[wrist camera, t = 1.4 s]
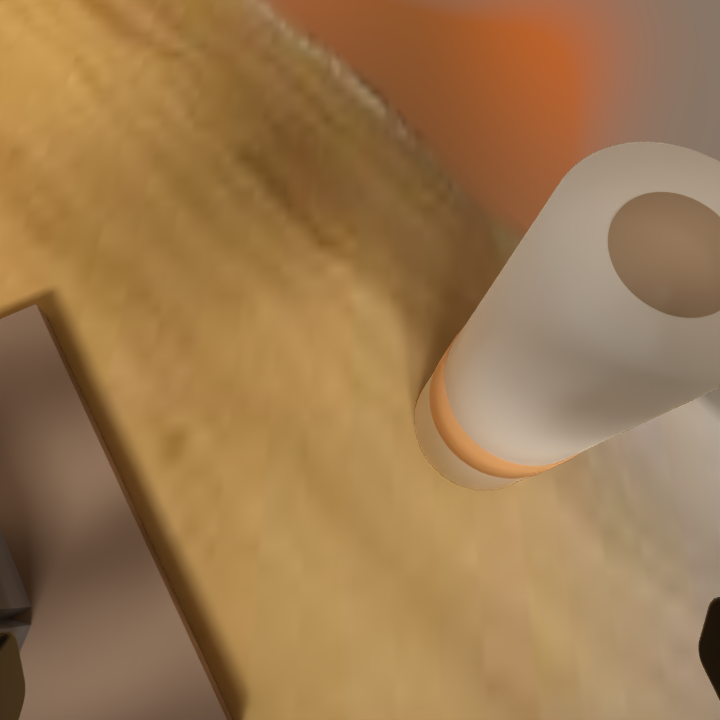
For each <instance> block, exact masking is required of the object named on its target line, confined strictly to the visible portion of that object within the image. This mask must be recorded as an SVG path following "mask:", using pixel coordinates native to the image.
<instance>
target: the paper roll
mask: <svg viewBox="0 0 720 720" xmlns="http://www.w3.org/2000/svg"><path fill="white" fill-rule="evenodd" d="M719 387H720V162H719V161H718V160H715V159H713V158H711V157H709V156H707V155H705V154H703V153H700V152H697V151H694V150H691V149H689V148H685V147H681V146H677V145H673V144H667V143H659V142H631V143H623V144H619V145H614V146H610V147H607V148H605V149H602V150H599V151H597V152H595V153H593V154H591V155H589V156H588V157H586V158H584V159H583V160H581V161H580V162H579V163H578V164H576V165H575V166H574V167H573V168H572V169H571V170H570V171H569V172H568V173H567V174H566V175H565V176H564V177H563V179H562V180H561V182H560V183H559V185H558V186H557V187H556V189H555V190H554V192H553V193H552V195H551V197H550V198H549V200H548V201H547V203H546V204H545V206H544V207H543V209H542V210H541V212H540V213H539V215H538V216H537V218H536V219H535V221H534V222H533V224H532V225H531V227H530V228H529V230H528V231H527V233H526V234H525V236H524V237H523V239H522V240H521V242H520V243H519V245H518V246H517V248H516V249H515V251H514V252H513V254H512V255H511V257H510V258H509V260H508V261H507V263H506V264H505V266H504V267H503V269H502V270H501V272H500V273H499V275H498V276H497V278H496V279H495V281H494V282H493V284H492V285H491V287H490V288H489V290H488V291H487V293H486V294H485V296H484V297H483V299H482V300H481V302H480V303H479V305H478V306H477V308H476V309H475V311H474V313H473V314H472V316H471V317H470V319H469V320H468V322H467V323H466V325H465V326H464V327H463V328H462V329H461V330H460V331H459V333H458V334H457V335H456V337H455V338H454V340H453V341H452V343H451V344H450V346H449V347H448V349H447V350H446V352H445V353H444V355H443V356H442V358H441V359H440V361H439V363H438V364H437V367H436V369H435V371H434V373H433V374H432V376H431V377H430V379H429V380H428V382H427V383H426V385H425V386H424V388H423V389H422V391H421V393H420V395H419V398H418V401H417V404H416V408H415V416H414V424H415V432H416V437H417V440H418V443H419V446H420V448H421V450H422V452H423V454H424V456H425V457H426V459H427V460H428V462H429V463H430V464H431V465H432V466H433V467H434V469H435V470H436V471H438V472H439V473H440V474H441V475H442V476H444V477H445V478H446V479H448V480H449V481H451V482H453V483H455V484H457V485H460V486H462V487H465V488H469V489H473V490H482V491H487V490H496V489H501V488H504V487H507V486H510V485H512V484H514V483H516V482H518V481H521V480H523V479H525V478H527V477H530V476H533V475H536V474H539V473H542V472H544V471H546V470H548V469H550V468H552V467H555V466H557V465H559V464H561V463H563V462H565V461H567V460H569V459H571V458H573V457H575V456H576V455H578V454H579V453H580V452H583V451H585V450H587V449H589V448H591V447H593V446H595V445H598V444H600V443H602V442H604V441H606V440H608V439H610V438H612V437H615V436H617V435H619V434H621V433H623V432H625V431H627V430H630V429H632V428H634V427H636V426H638V425H640V424H642V423H645V422H647V421H649V420H651V419H653V418H655V417H657V416H660V415H662V414H664V413H666V412H668V411H670V410H672V409H674V408H677V407H679V406H681V405H683V404H685V403H687V402H689V401H692V400H694V399H696V398H698V397H700V396H702V395H704V394H707V393H709V392H711V391H713V390H715V389H717V388H719Z"/></svg>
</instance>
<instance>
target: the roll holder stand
mask: <svg viewBox="0 0 720 720" xmlns="http://www.w3.org/2000/svg"><path fill="white" fill-rule="evenodd" d="M6 631H7V632H11V633H13V634H14V635H15V637H16V639H17V642H18V647H19V652H20V657H21V663H22V668H23V673H24V678H25V698H24V703H23V707H22V710H21V714H20V717H19V720H233V719H232V717H231V715H230V712H229V710H228V708H227V706H226V704H225V702H224V699H223V697H222V695H221V693H220V691H219V689H218V686H217V684H216V682H215V680H214V678H213V676H212V673H211V671H210V669H209V667H208V665H207V663H206V660H205V658H204V656H203V654H202V652H201V650H200V647H199V645H198V643H197V641H196V639H195V637H194V634H193V632H192V630H191V628H190V626H189V624H188V621H187V619H186V617H185V615H184V613H183V611H182V608H181V606H180V604H179V602H178V600H177V598H176V596H175V593H174V591H173V589H172V587H171V585H170V583H169V580H168V578H167V576H166V574H165V572H164V570H163V567H162V565H161V563H160V561H159V559H158V557H157V554H156V552H155V550H154V548H153V546H152V544H151V541H150V539H149V537H148V535H147V533H146V531H145V528H144V526H143V524H142V522H141V520H140V518H139V515H138V513H137V511H136V509H135V507H134V505H133V502H132V500H131V498H130V496H129V494H128V492H127V489H126V487H125V485H124V483H123V481H122V479H121V476H120V474H119V472H118V470H117V468H116V466H115V463H114V461H113V459H112V457H111V455H110V453H109V450H108V448H107V446H106V444H105V442H104V440H103V438H102V435H101V433H100V431H99V429H98V427H97V425H96V422H95V420H94V418H93V416H92V414H91V412H90V409H89V407H88V405H87V403H86V401H85V399H84V396H83V394H82V392H81V390H80V388H79V386H78V383H77V381H76V379H75V377H74V375H73V373H72V370H71V368H70V366H69V364H68V362H67V360H66V357H65V355H64V353H63V351H62V349H61V347H60V344H59V342H58V340H57V338H56V336H55V334H54V331H53V329H52V327H51V325H50V323H49V321H48V318H47V316H46V315H45V314H44V312H43V311H42V310H41V309H40V308H39V307H38V306H37V305H36V304H35V305H32V306H30V307H27V308H25V309H23V310H20V311H18V312H16V313H13V314H11V315H8V316H6V317H4V318H1V319H0V632H6Z"/></svg>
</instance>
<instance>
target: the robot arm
mask: <svg viewBox="0 0 720 720" xmlns="http://www.w3.org/2000/svg"><path fill="white" fill-rule="evenodd" d="M699 656H700V660H701V662H702V665H703V667H704V669H705V671H706V673H707V675H708V677H709V679H710V681H711V683H712V685H713V687H714V689H715V692H716V694H717V696H718V698H719V700H720V597H717V598H714V599H713V600H712V602H711V603H710V605H709V607H708V611H707V615H706V618H705V622H704V625H703V629H702V633H701V636H700V640H699ZM24 698H25V678H24V673H23V668H22V663H21V657H20V652H19V647H18V642H17V639H16V637H15V635H14V634H13V633H11V632H7V631H6V632H0V720H19V717H20V714H21V710H22V707H23V703H24Z"/></svg>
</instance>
